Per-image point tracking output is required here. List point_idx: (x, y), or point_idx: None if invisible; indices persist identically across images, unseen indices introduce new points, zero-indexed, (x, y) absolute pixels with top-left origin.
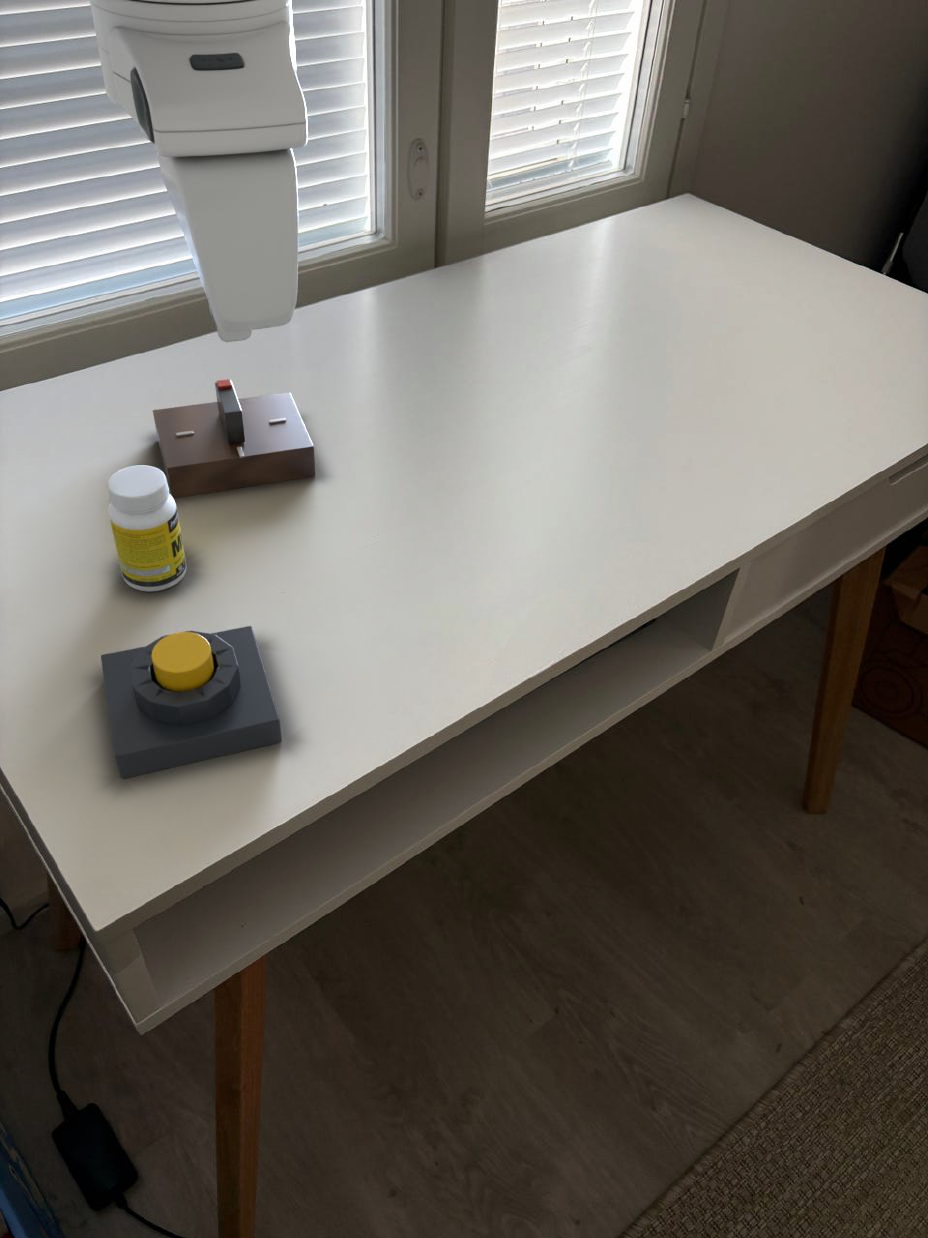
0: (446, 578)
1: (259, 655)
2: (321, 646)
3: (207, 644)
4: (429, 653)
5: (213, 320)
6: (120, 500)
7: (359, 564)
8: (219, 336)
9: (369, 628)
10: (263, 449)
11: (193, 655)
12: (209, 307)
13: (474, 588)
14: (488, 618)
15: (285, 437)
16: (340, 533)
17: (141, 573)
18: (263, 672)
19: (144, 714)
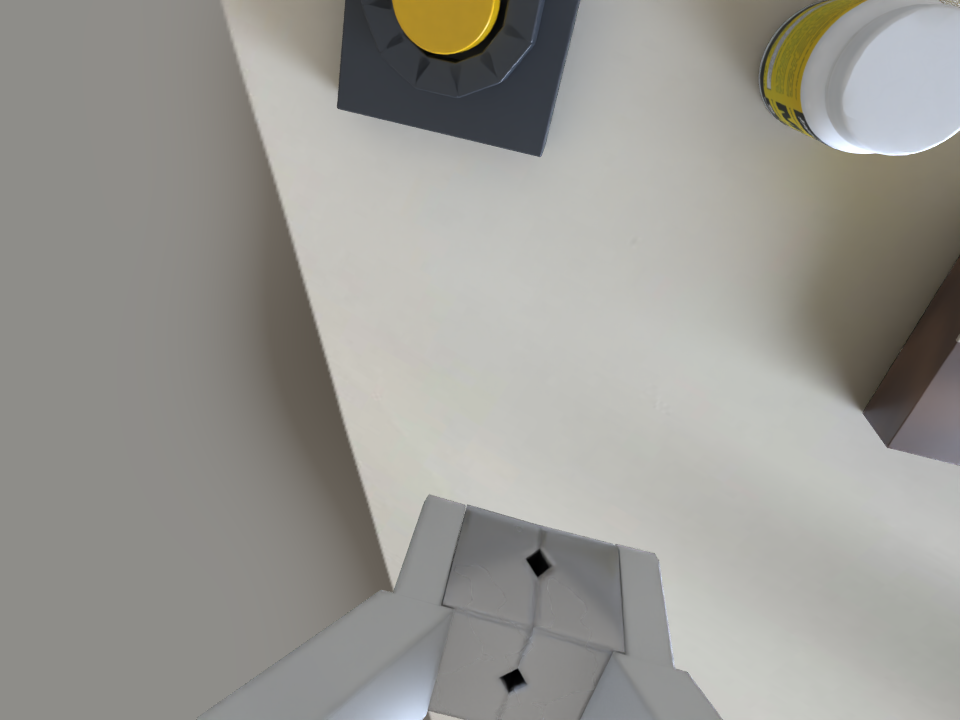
0: (534, 435)
1: (471, 139)
2: (498, 236)
3: (440, 50)
4: (420, 347)
5: (575, 541)
6: (884, 21)
7: (625, 362)
8: (427, 501)
9: (498, 308)
10: (948, 378)
11: (423, 14)
12: (655, 581)
13: (499, 450)
14: (443, 434)
15: (950, 424)
16: (705, 374)
17: (790, 28)
18: (434, 128)
19: None
